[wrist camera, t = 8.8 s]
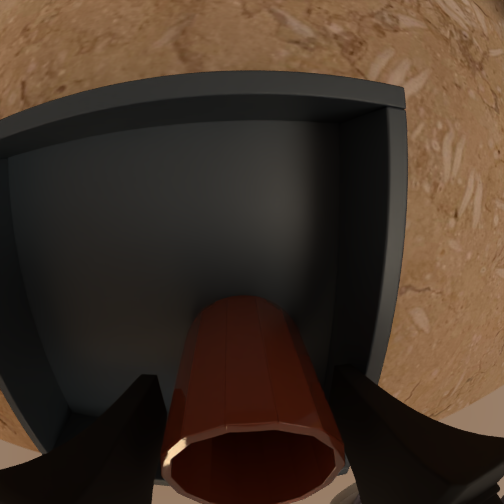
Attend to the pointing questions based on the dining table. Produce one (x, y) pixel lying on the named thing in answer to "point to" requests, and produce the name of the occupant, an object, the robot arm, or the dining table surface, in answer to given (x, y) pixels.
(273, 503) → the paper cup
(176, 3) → the dining table surface
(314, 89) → the bin
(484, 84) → the dining table surface
